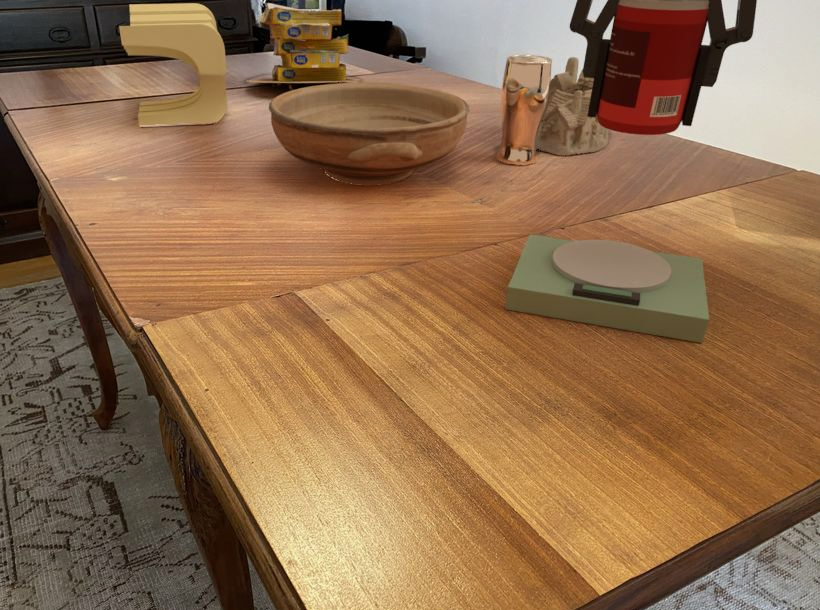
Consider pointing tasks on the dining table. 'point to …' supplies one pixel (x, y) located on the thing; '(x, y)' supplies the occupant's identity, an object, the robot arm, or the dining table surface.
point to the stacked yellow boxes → (305, 45)
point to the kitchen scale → (611, 286)
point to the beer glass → (523, 106)
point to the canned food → (651, 65)
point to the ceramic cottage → (570, 116)
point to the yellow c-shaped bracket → (180, 58)
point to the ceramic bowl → (368, 128)
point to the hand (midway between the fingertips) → (638, 117)
